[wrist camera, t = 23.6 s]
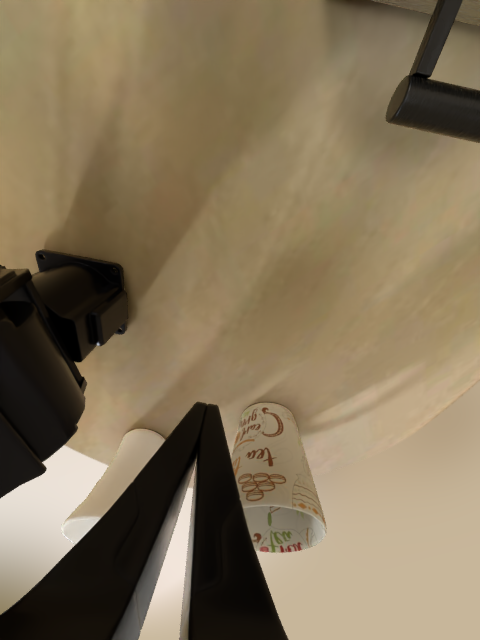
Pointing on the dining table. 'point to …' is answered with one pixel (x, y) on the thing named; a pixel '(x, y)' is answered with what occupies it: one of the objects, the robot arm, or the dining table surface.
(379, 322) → the dining table surface
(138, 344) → the dining table surface
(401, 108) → the drawer
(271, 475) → the mug
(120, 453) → the cup
